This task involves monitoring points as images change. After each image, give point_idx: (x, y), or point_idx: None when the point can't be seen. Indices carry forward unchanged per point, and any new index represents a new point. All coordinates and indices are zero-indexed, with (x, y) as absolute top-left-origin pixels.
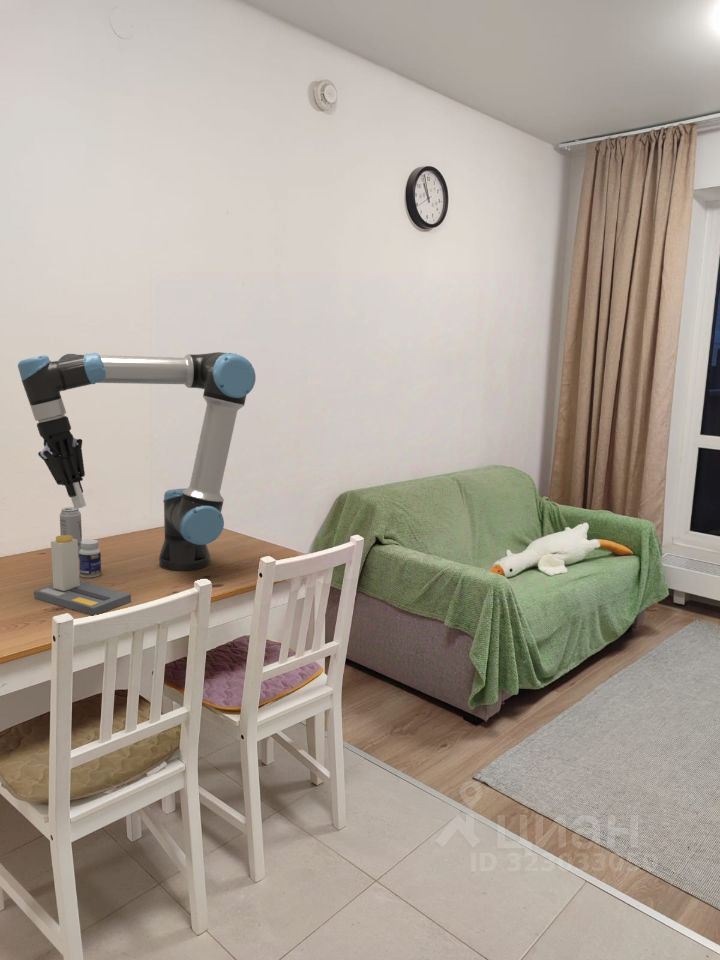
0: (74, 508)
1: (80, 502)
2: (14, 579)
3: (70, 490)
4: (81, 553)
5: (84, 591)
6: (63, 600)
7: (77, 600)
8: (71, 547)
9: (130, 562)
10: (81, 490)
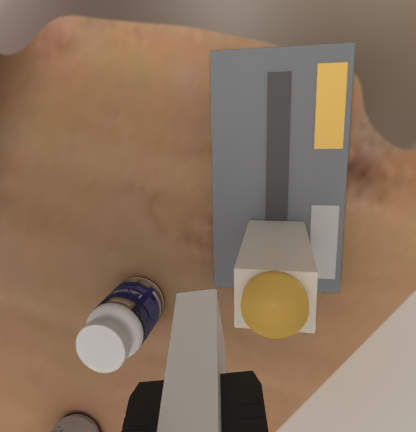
0: (224, 344)
1: (217, 313)
2: (268, 421)
3: (267, 428)
4: (142, 336)
5: (272, 174)
6: (346, 174)
7: (336, 131)
8: (267, 261)
9: (21, 289)
10: (145, 399)
